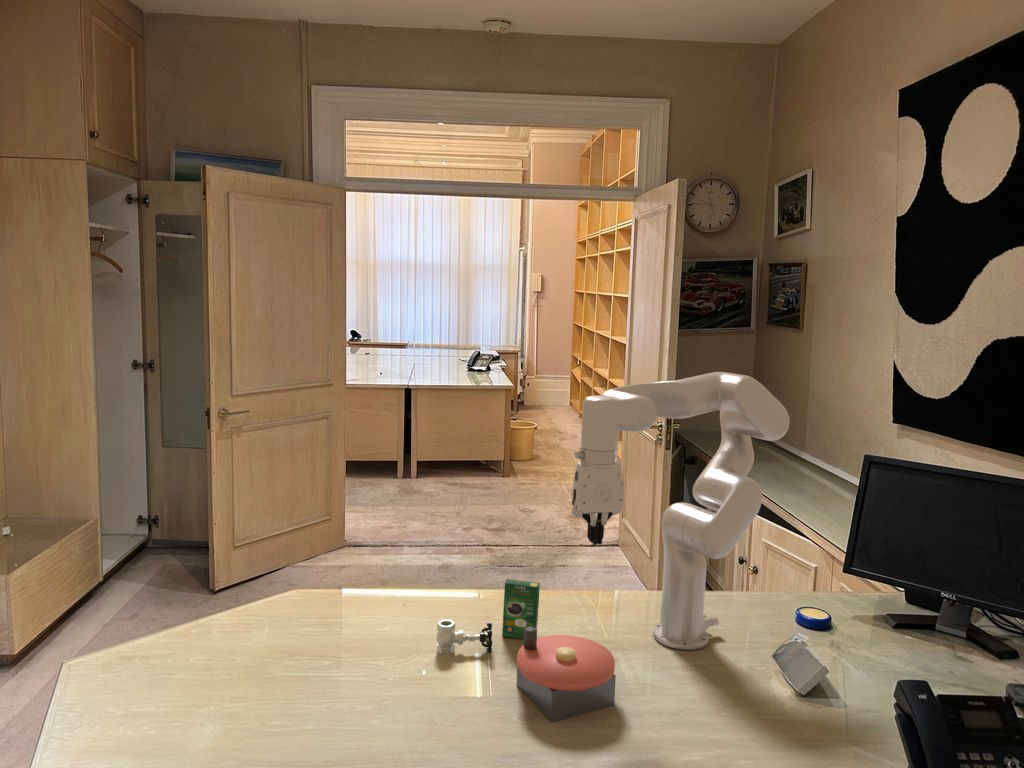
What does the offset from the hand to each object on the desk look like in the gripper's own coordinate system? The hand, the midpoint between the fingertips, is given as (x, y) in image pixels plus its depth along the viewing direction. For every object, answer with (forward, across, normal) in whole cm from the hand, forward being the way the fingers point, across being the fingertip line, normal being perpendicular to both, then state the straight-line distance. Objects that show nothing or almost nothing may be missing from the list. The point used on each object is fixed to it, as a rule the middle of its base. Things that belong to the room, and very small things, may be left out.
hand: (595, 542), depth 153 cm
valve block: (+27, -10, -10) cm, 30 cm away
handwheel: (+21, -10, -9) cm, 25 cm away
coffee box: (+27, -10, +16) cm, 33 cm away
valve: (+27, -24, +13) cm, 39 cm away
